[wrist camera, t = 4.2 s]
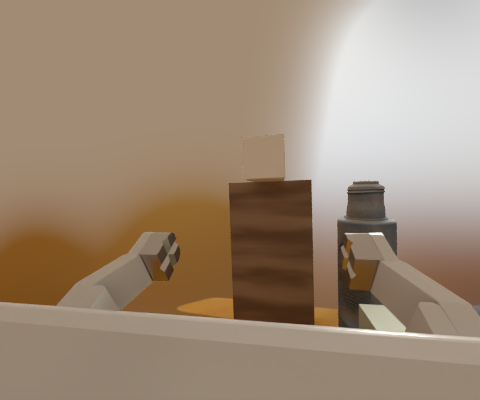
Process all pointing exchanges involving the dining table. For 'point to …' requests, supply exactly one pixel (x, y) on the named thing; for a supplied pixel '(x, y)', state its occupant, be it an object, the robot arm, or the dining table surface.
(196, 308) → the dining table surface
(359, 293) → the bottle
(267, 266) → the tall stand
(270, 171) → the batten
